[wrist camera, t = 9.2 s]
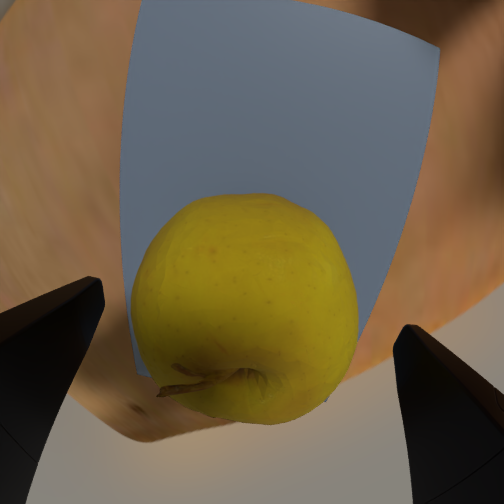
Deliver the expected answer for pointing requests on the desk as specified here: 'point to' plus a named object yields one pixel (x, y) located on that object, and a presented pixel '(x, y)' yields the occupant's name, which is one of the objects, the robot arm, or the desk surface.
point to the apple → (245, 309)
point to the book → (275, 123)
